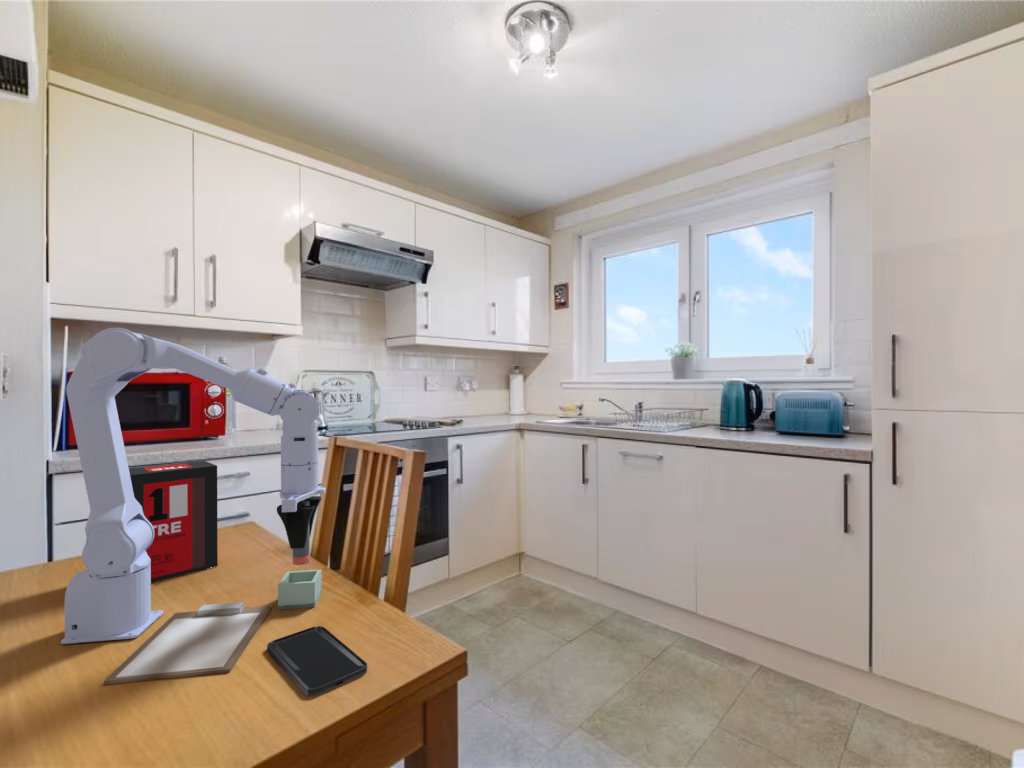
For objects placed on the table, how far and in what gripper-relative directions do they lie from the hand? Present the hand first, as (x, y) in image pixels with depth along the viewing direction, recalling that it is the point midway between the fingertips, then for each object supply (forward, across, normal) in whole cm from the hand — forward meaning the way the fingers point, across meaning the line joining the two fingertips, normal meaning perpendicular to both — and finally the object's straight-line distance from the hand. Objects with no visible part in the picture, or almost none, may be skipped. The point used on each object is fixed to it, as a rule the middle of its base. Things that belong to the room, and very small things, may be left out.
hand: (300, 544), depth 83 cm
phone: (+10, -19, -6) cm, 22 cm away
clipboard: (+9, -11, +11) cm, 18 cm away
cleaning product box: (+10, +18, +29) cm, 36 cm away
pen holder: (+9, 0, 0) cm, 9 cm away
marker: (+3, 0, 0) cm, 3 cm away
